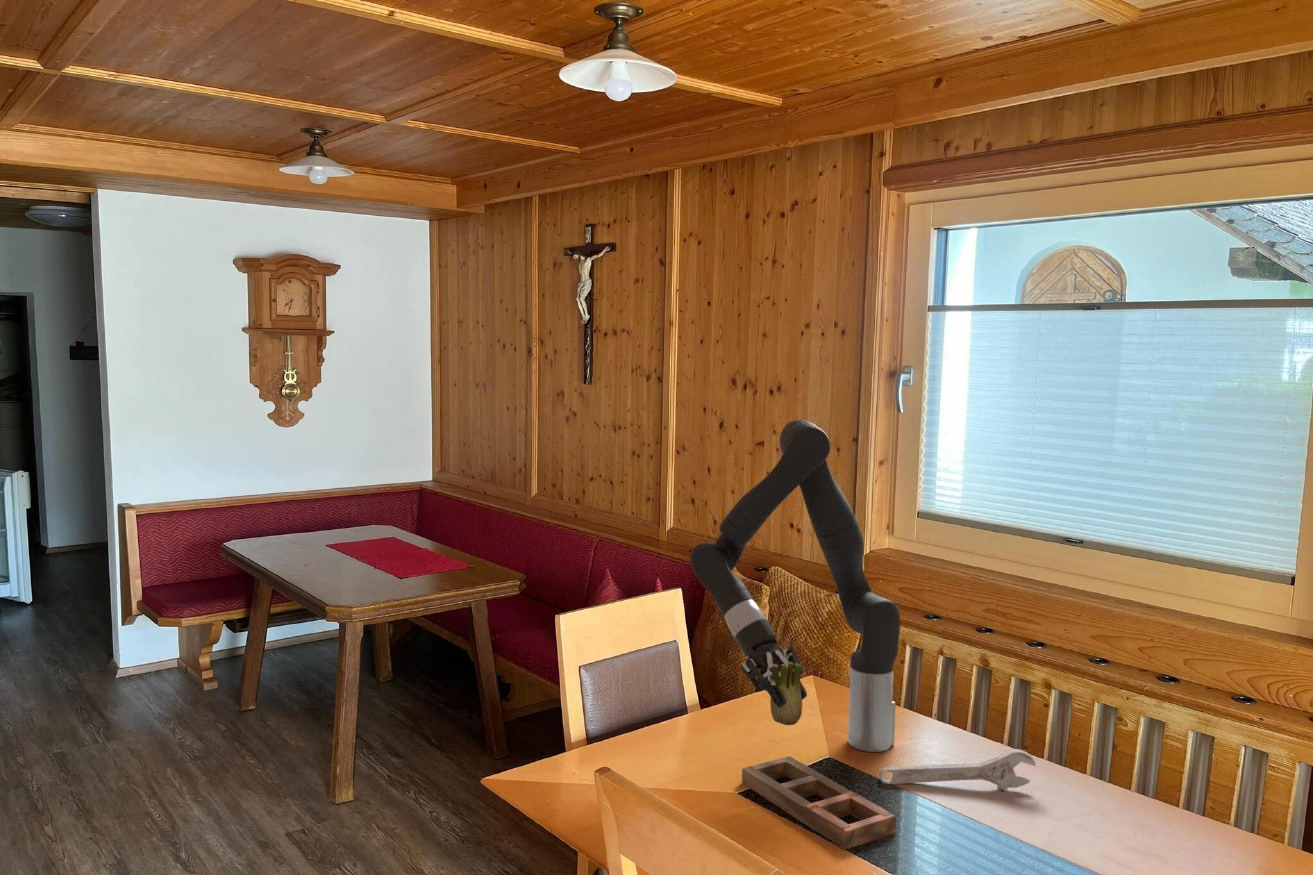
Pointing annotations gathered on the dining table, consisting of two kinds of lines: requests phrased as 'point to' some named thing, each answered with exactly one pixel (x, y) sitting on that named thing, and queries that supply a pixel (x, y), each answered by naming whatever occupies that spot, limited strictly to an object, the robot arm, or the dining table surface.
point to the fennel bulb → (788, 694)
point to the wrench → (966, 771)
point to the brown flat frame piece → (819, 802)
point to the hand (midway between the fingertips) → (793, 701)
